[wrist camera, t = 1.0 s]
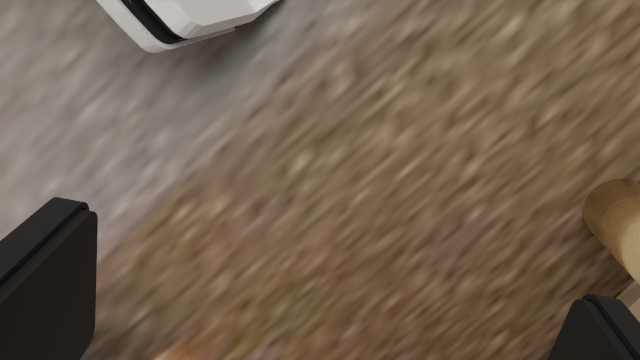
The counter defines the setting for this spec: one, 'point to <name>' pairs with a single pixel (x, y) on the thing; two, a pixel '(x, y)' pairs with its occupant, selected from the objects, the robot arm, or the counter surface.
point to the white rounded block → (180, 19)
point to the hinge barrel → (617, 221)
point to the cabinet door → (632, 298)
